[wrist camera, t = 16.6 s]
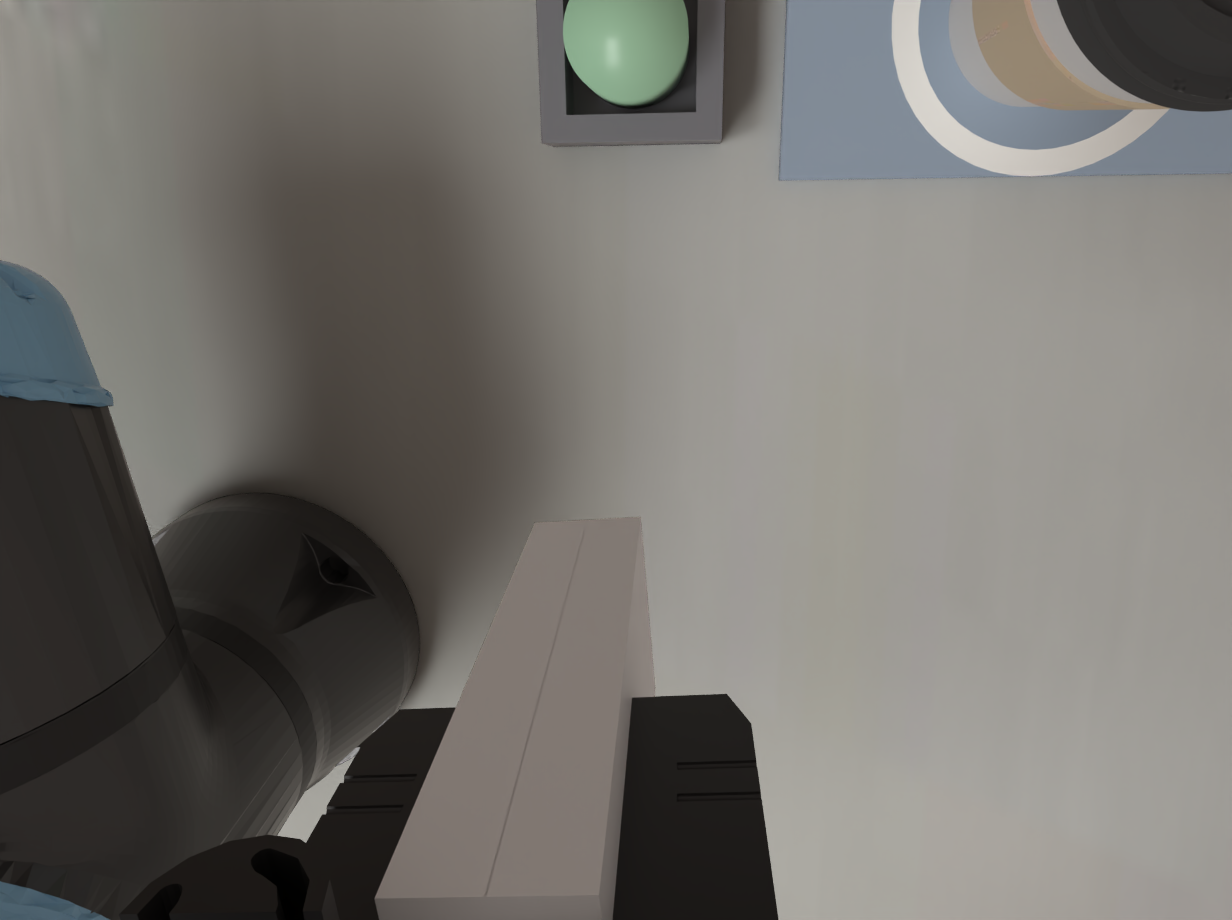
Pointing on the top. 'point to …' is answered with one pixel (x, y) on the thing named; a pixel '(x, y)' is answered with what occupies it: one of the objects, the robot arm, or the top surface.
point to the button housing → (594, 122)
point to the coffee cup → (1096, 53)
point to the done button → (627, 48)
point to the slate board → (951, 109)
